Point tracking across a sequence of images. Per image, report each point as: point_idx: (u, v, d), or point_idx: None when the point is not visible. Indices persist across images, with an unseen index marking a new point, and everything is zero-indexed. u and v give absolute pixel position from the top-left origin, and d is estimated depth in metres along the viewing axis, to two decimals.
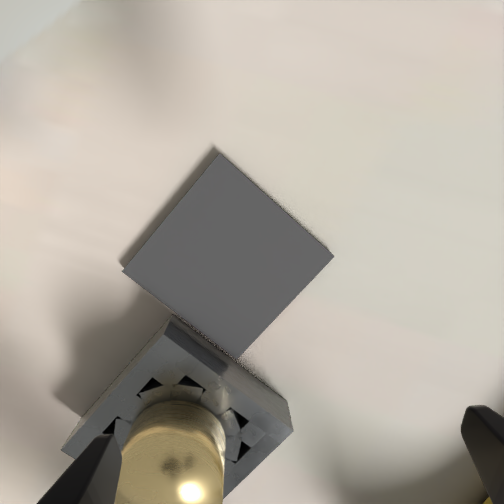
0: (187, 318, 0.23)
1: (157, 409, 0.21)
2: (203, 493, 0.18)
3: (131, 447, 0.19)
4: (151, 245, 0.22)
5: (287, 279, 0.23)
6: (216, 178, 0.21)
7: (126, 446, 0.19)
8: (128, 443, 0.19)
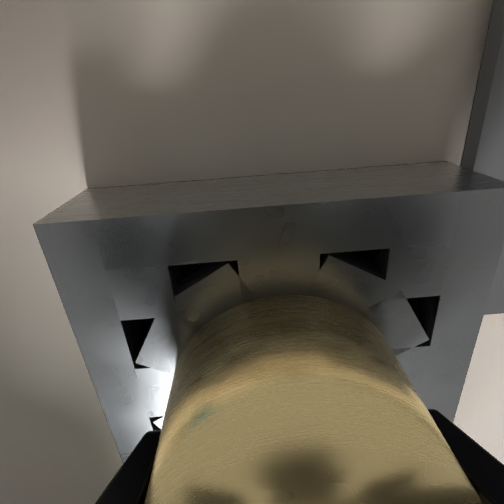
0: None
1: (352, 320, 0.08)
2: None
3: (349, 402, 0.06)
4: None
5: None
6: None
7: (303, 374, 0.06)
8: (308, 369, 0.06)
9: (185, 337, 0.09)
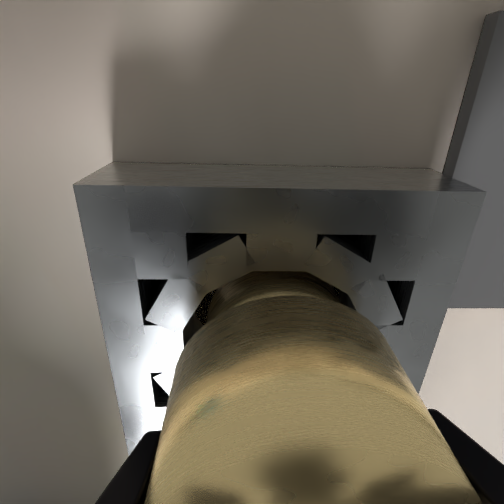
0: None
1: (352, 320, 0.08)
2: None
3: (349, 402, 0.06)
4: None
5: None
6: None
7: (303, 374, 0.06)
8: (309, 369, 0.06)
9: (192, 299, 0.10)
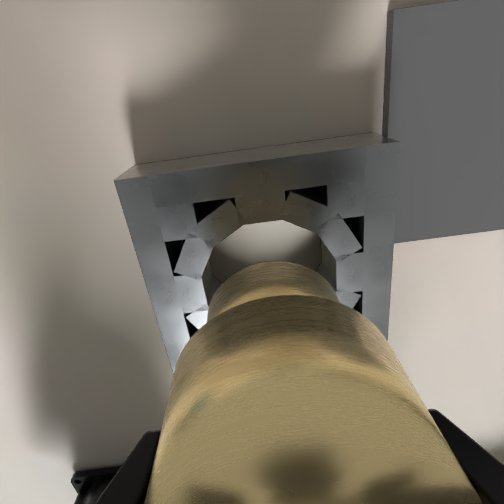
0: None
1: (352, 320, 0.08)
2: None
3: (349, 401, 0.06)
4: (462, 11, 0.13)
5: None
6: None
7: (303, 373, 0.06)
8: (308, 368, 0.06)
9: (205, 252, 0.14)
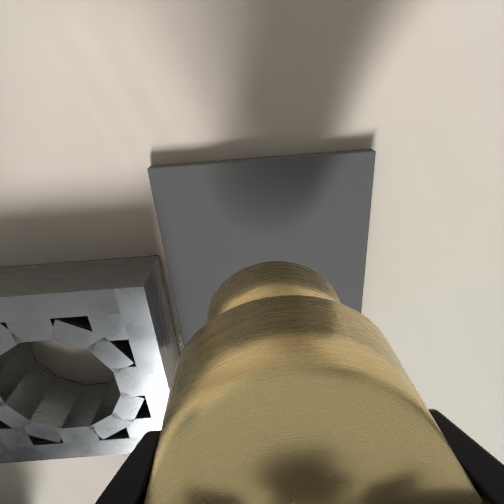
0: (172, 274, 0.17)
1: (352, 320, 0.08)
2: None
3: (349, 403, 0.06)
4: (208, 172, 0.15)
5: None
6: (345, 172, 0.15)
7: (304, 375, 0.06)
8: (309, 369, 0.06)
9: None
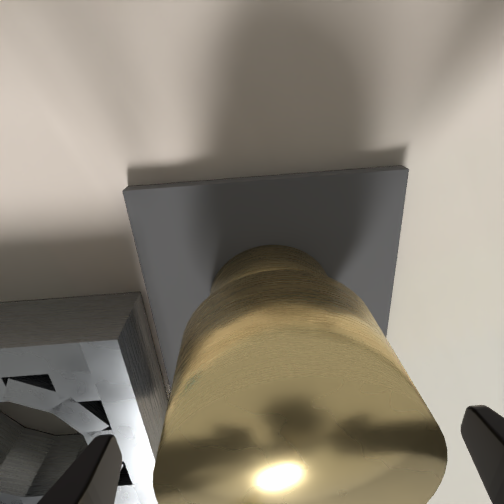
0: (156, 315, 0.14)
1: (337, 290, 0.09)
2: None
3: (330, 347, 0.07)
4: (200, 195, 0.12)
5: None
6: (369, 195, 0.12)
7: (293, 327, 0.07)
8: (298, 323, 0.07)
9: None
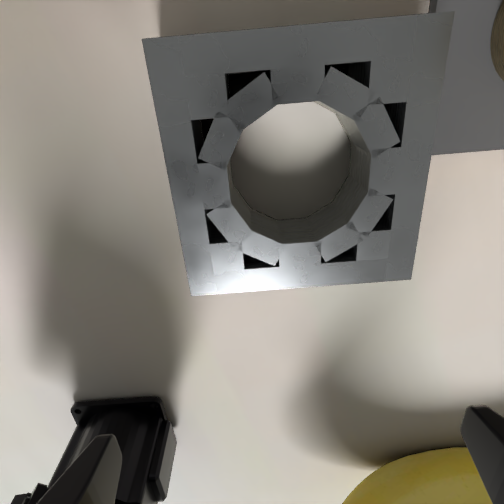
0: None
1: None
2: None
3: None
4: None
5: None
6: None
7: None
8: None
9: (233, 136, 0.13)
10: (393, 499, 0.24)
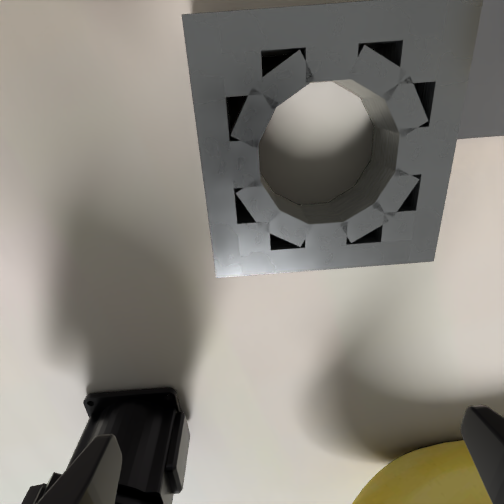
0: None
1: None
2: None
3: None
4: None
5: None
6: None
7: None
8: None
9: (266, 113, 0.14)
10: (409, 491, 0.24)
